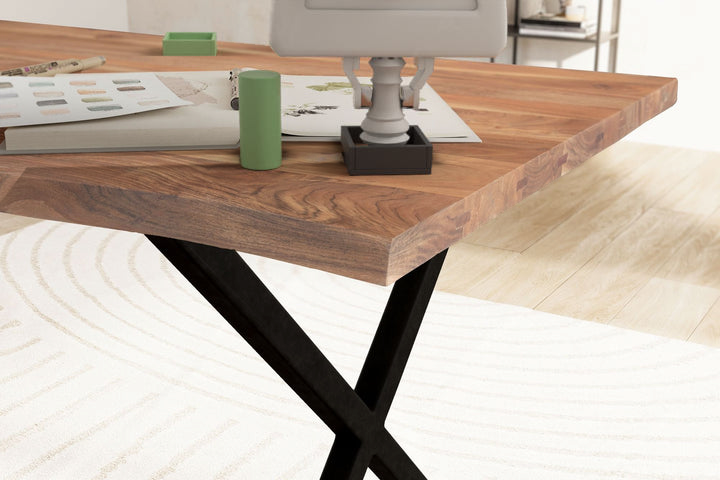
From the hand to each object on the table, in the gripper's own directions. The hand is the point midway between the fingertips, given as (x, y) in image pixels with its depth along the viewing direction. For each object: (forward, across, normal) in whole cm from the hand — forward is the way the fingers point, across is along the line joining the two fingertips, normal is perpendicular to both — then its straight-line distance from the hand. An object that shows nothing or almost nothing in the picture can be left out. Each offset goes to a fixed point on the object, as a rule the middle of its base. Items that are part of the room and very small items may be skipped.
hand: (385, 107), depth 78 cm
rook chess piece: (+3, 0, 0) cm, 3 cm away
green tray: (+5, +20, -54) cm, 58 cm away
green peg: (+5, +11, 0) cm, 12 cm away
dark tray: (+5, 0, 0) cm, 5 cm away
